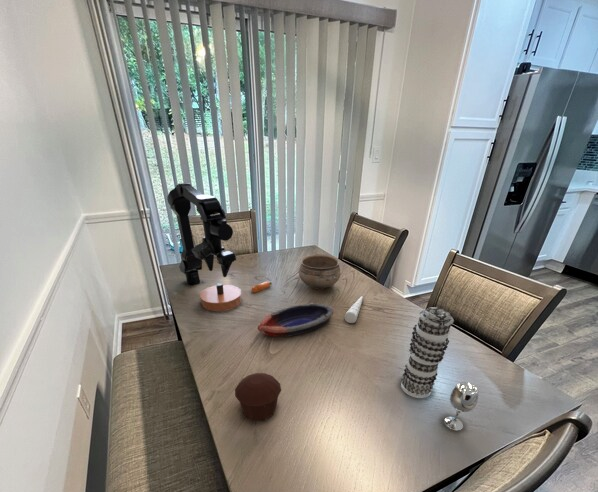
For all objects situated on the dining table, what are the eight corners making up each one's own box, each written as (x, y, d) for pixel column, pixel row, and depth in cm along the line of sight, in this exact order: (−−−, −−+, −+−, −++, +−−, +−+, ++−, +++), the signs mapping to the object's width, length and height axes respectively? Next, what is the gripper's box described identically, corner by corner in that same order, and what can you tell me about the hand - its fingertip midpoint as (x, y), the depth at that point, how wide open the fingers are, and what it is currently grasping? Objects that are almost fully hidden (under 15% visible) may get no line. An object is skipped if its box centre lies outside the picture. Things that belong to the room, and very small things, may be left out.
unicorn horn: (370, 299, 139) (372, 288, 136) (355, 325, 121) (356, 314, 118) (360, 296, 141) (361, 286, 138) (343, 322, 123) (344, 311, 120)
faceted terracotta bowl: (194, 303, 134) (193, 294, 132) (225, 291, 144) (224, 283, 142) (217, 316, 125) (216, 307, 123) (248, 302, 135) (247, 294, 133)
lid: (191, 296, 132) (189, 284, 130) (225, 283, 143) (223, 272, 140) (216, 309, 123) (214, 297, 120) (249, 295, 133) (248, 284, 131)
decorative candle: (396, 376, 97) (413, 302, 83) (427, 377, 96) (449, 303, 83) (403, 398, 89) (423, 321, 75) (437, 399, 89) (463, 322, 75)
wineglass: (437, 415, 84) (449, 380, 77) (458, 414, 84) (472, 379, 78) (447, 433, 79) (462, 397, 72) (470, 431, 79) (486, 396, 73)
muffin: (243, 430, 79) (239, 401, 74) (232, 400, 88) (228, 372, 82) (288, 416, 83) (287, 387, 78) (273, 388, 92) (272, 361, 86)
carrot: (253, 295, 142) (255, 290, 140) (249, 290, 143) (251, 285, 141) (271, 287, 149) (273, 283, 147) (267, 283, 150) (269, 278, 147)
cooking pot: (351, 292, 144) (354, 266, 137) (315, 301, 136) (316, 274, 130) (322, 273, 162) (323, 249, 156) (288, 280, 155) (288, 255, 148)
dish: (342, 326, 120) (343, 314, 118) (266, 347, 108) (265, 335, 106) (320, 308, 132) (321, 297, 129) (249, 325, 120) (248, 314, 117)
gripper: (179, 233, 119) (187, 273, 128) (208, 244, 109) (214, 287, 117) (205, 227, 126) (210, 265, 135) (234, 237, 116) (238, 278, 124)
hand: (217, 273), depth 127 cm, fingers open, 9 cm apart
